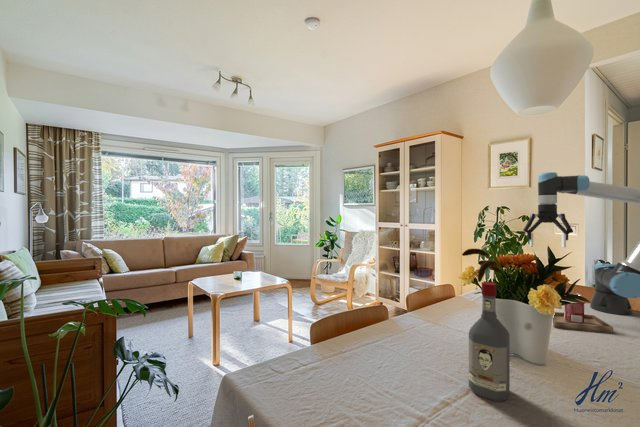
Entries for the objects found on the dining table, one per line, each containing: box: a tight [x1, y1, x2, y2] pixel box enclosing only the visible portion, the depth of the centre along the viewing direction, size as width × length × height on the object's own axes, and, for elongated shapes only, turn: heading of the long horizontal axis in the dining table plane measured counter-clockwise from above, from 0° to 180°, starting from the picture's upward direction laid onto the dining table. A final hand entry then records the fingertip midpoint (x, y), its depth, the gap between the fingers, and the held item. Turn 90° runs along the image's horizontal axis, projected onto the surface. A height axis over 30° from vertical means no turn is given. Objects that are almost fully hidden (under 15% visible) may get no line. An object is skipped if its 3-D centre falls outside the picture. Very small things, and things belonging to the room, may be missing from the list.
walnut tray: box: [552, 311, 614, 334], centre depth 133 cm, size 20×15×2 cm
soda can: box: [563, 292, 585, 324], centre depth 133 cm, size 7×7×12 cm
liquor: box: [468, 281, 511, 402], centre depth 84 cm, size 9×9×30 cm
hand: (547, 246), depth 151 cm, fingers open, 13 cm apart
